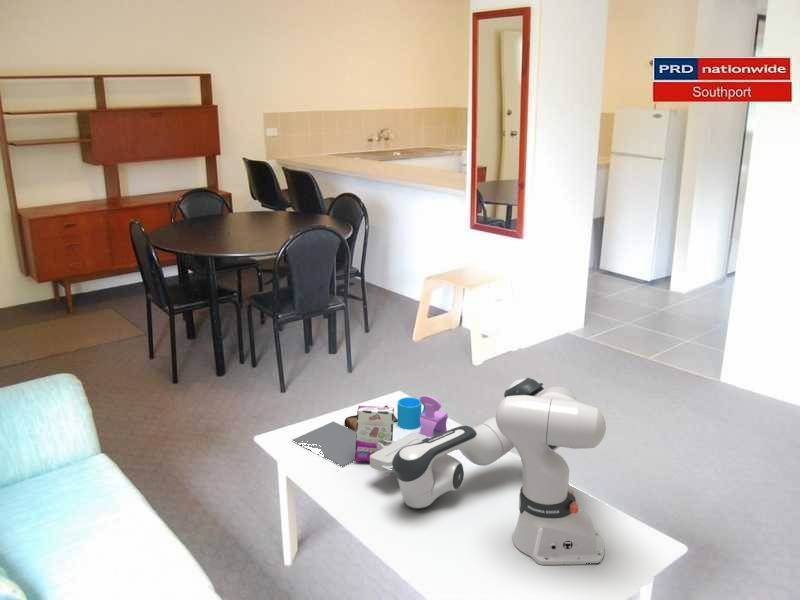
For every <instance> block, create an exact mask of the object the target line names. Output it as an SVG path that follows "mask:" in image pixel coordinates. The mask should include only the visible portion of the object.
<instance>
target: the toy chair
mask: <svg viewBox="0 0 800 600" xmlns="http://www.w3.org/2000/svg"><path fill="white" fill-rule="evenodd" d="M419 400H420V402H421V405H422V406H423V405H424V406H425V413H423V414H421V417H420V423H421V426H420V430H419V432H418V433H419V434H422V435H425V436H427V437H431V438H432V437H434V430H436V431H437V432H441V433H443V432H446V431H448V429H447V420H448V417H449V416H448V413H447V412H445V411H440V410H441V407H442V403H441V402H440V401H439V400H438V399H437V398H435V397H433V396H431V395H426V394H423V395H420V397H419ZM424 406H423V407H424Z"/></svg>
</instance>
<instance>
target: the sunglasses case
mask: <svg viewBox="0 0 800 600" xmlns="http://www.w3.org/2000/svg"><path fill="white" fill-rule="evenodd" d="M383 407H389V406H388V405H384V406H383ZM395 423H397V417H396V416H395V415H394V422H393V424H395ZM344 427H346V428H347V427H348V428H349V429H351V430H353V431H355V432H356V430H357V414H355V415H350V416H347V417H346V418H345V419H344Z"/></svg>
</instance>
